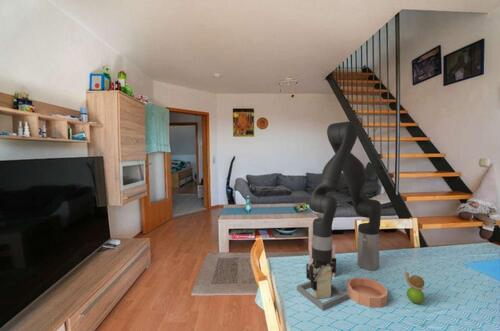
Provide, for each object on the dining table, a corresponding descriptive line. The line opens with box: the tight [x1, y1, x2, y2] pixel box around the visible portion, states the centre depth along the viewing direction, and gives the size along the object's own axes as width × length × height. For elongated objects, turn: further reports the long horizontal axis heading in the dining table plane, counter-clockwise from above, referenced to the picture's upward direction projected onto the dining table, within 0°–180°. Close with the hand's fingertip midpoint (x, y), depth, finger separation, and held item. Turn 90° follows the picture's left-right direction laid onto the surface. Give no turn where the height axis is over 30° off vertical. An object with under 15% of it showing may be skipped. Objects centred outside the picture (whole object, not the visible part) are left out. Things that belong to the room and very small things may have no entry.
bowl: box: [346, 276, 388, 308], centre depth 93 cm, size 14×14×4 cm
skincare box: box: [311, 266, 332, 299], centre depth 93 cm, size 6×4×12 cm
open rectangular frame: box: [296, 280, 349, 312], centre depth 94 cm, size 13×14×2 cm
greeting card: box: [308, 239, 336, 278], centre depth 111 cm, size 11×7×15 cm, turn 64°
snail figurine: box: [404, 267, 425, 305], centre depth 89 cm, size 5×6×12 cm
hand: (321, 286), depth 93 cm, fingers closed on skincare box, 7 cm apart
